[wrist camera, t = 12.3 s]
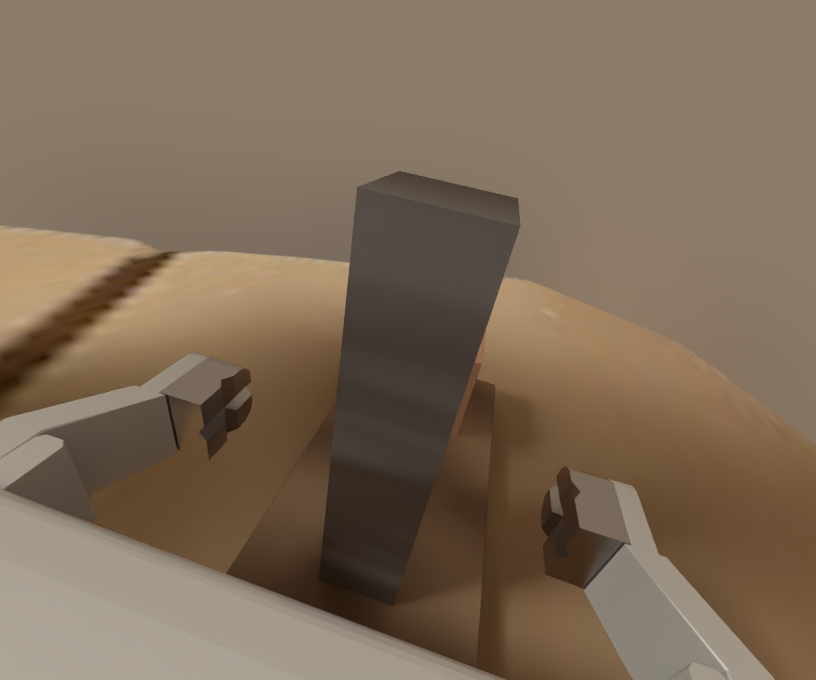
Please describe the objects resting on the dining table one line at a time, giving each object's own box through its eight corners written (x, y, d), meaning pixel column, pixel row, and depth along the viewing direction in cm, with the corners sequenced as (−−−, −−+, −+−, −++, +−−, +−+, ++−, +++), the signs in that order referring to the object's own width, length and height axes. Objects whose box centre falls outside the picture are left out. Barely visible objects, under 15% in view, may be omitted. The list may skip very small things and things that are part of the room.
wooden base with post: (452, 842, 9) (1074, 520, 2) (156, 712, 10) (-165, 170, 3) (489, 399, 23) (576, 173, 16) (368, 364, 24) (402, 135, 17)
